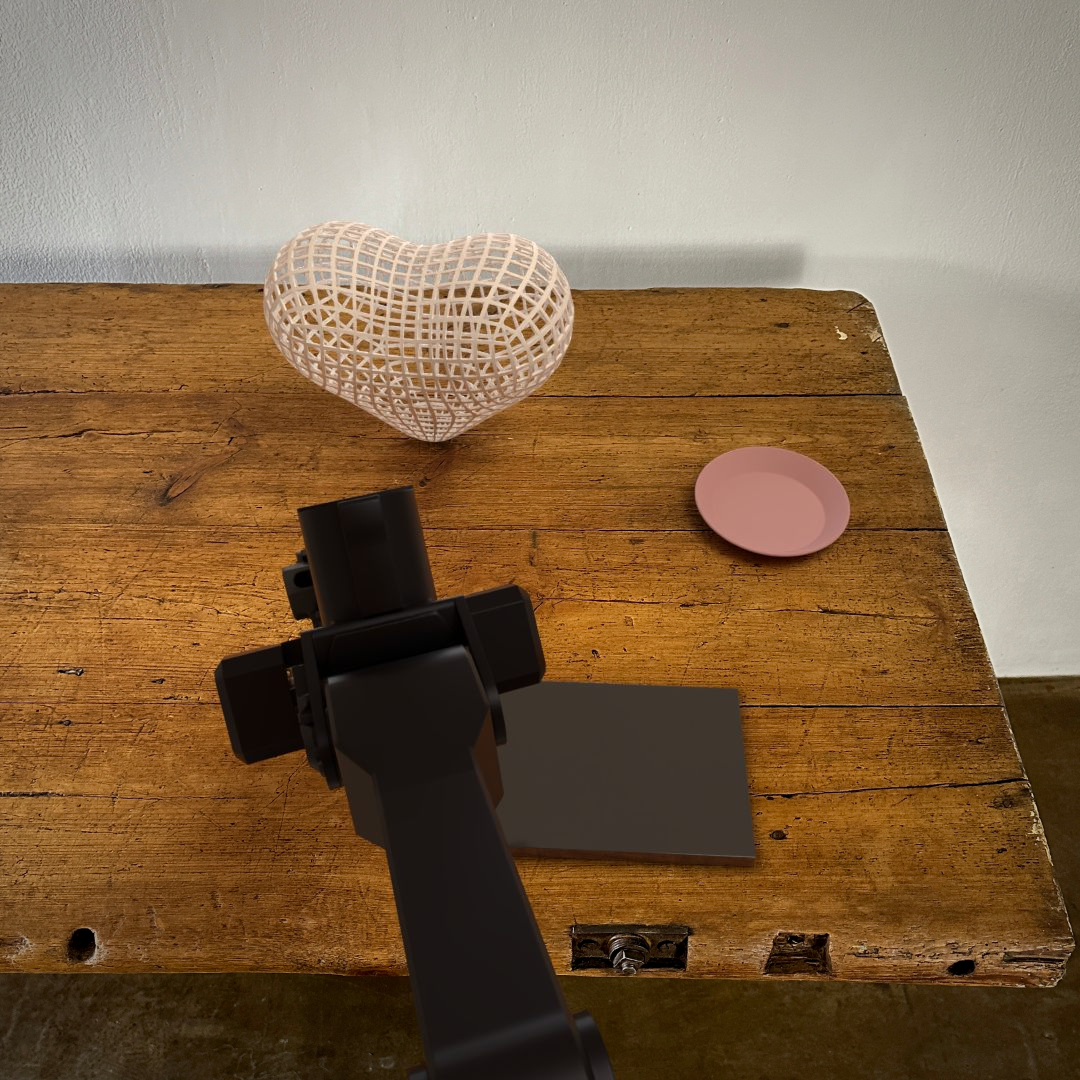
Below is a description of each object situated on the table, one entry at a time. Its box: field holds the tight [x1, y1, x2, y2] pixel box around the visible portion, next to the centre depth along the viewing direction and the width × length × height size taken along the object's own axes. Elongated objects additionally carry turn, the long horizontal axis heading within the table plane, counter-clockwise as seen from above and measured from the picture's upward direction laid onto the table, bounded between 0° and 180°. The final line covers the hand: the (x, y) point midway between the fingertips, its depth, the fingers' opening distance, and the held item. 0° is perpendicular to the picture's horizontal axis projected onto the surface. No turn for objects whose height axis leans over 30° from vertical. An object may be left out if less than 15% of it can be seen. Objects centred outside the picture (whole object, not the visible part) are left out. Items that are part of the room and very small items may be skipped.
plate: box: [694, 446, 851, 558], centre depth 91 cm, size 14×14×2 cm
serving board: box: [496, 680, 757, 867], centre depth 73 cm, size 14×20×2 cm
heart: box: [262, 220, 575, 443], centre depth 91 cm, size 28×16×22 cm, turn 82°
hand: (376, 653), depth 66 cm, fingers closed on ice cream cone, 5 cm apart
